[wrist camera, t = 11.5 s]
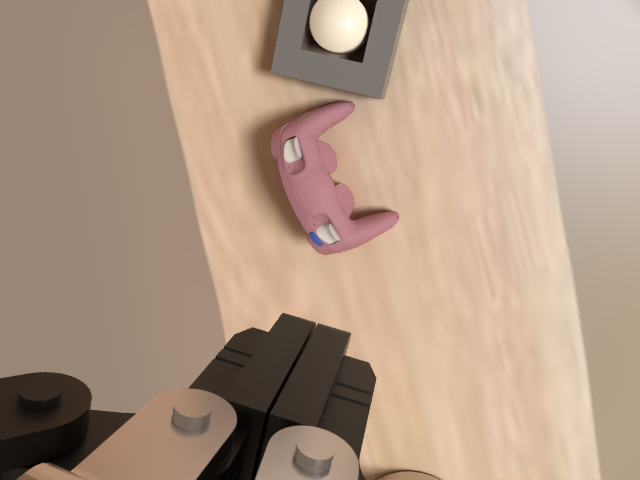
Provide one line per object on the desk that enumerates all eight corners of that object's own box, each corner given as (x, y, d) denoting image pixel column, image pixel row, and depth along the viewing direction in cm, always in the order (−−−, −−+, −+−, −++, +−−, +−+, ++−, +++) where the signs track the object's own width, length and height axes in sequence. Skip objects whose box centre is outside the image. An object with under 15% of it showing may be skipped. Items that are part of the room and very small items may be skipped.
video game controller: (309, 114, 41) (245, 137, 36) (355, 91, 38) (293, 112, 33) (360, 235, 42) (305, 272, 37) (408, 222, 39) (356, 261, 34)
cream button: (363, 59, 37) (358, 57, 35) (312, 48, 38) (304, 44, 35) (376, 3, 36) (372, -3, 34) (323, -8, 37) (316, -15, 34)
